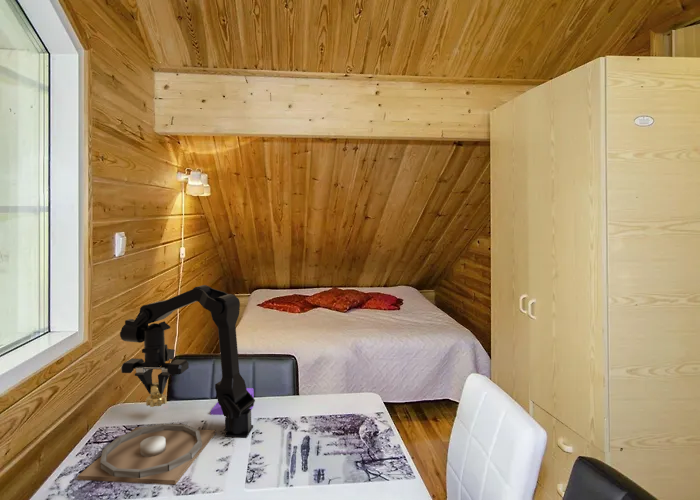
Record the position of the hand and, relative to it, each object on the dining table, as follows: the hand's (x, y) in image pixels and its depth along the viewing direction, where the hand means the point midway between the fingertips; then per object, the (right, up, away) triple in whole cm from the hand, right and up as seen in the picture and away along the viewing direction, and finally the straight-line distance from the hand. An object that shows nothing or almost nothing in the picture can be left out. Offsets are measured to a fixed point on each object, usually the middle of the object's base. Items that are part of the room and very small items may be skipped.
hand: (156, 393), depth 134 cm
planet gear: (0, -3, 0) cm, 3 cm away
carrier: (+8, -10, -20) cm, 23 cm away
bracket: (+22, -8, +7) cm, 24 cm away
